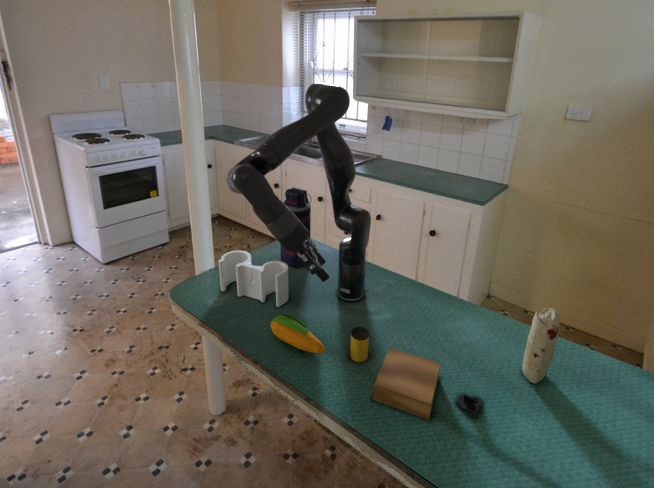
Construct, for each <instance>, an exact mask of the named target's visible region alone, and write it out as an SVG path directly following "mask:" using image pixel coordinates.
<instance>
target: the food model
mask: <svg viewBox="0 0 654 488" xmlns="http://www.w3.org/2000/svg"><path fill="white" fill-rule="evenodd" d="M560 325H561V316H560V313H559V312H557V310H555V309H554V308H552V307H545V308H543V309H542V310H541V311H540V312H539V313H538V312H537V311H536V312H535V313H534V315H533V318H532V322H531V326H530V328H529V329H530V330H529V333H528V337H527V340H526V341H527V342H526V345H525V349H524V355H523V360H522V365H521V369H522V370H521V371H522V374H523V376H524V378H526V379H527V380H528V381H529V382H530V383H531V384H538V383H540V382H541V381H542V380H543V379H544V378H545V376H546V375H547V373H548V370H549V368H550V366H551V364H552V362H553V358H554V355H555V350H556V345H557V341H558V338H559V332H560Z"/></svg>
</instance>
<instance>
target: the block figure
mask: <svg viewBox="0 0 654 488" xmlns="http://www.w3.org/2000/svg"><path fill="white" fill-rule="evenodd" d="M456 404H457V406H458V408H460V409H461V410H463V411H467V414H468V416H470V417H472V418H477V416H478V413H479V412H482V411H481V410H482V409H481V408H480V407H481V405H482V400H481V398H480V397H478V396H473V397H472V396H469V395H467V394H459V396H458V398H457V401H456Z"/></svg>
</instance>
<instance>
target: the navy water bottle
mask: <svg viewBox="0 0 654 488" xmlns="http://www.w3.org/2000/svg"><path fill="white" fill-rule="evenodd" d="M284 196H285V200H284V201H282V202H283V203H284V204H285V205H286V206H287V207H288V208H289V209H290V210H291V211H292V212H293V213H294V214H295V215H296V217H297V218H298V219H299V220H300V221H301V222H302V224H303V225H304V226H305V227H306V228H307V229H308V231H309V234H308V237H309V238H310V239H311V223H312V222H311V216H312V215H311V213H312V208H311V207H312V206H311V204H312V200H310V201H309V198H310V199H312V195H310V194H309V193H308V190H306V189H302V188H298V187H294V186H293V187H291V188H287V189H285V192H284ZM308 196H309V197H308ZM279 245H280V246H279V247H280V248H279V249H280V261H281V262H284V263H286V264H287V265H288V266H290V265H291V266H293V268H300V267H301V265H303V264H302V262H301V261H300V260H299V259H298V257H299V256H298V254H297V250H291V251H287V250H286V249H285V248H284V247H283V246H282V245H281V244H280V243H279Z"/></svg>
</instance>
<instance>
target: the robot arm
mask: <svg viewBox="0 0 654 488" xmlns="http://www.w3.org/2000/svg"><path fill="white" fill-rule="evenodd" d="M306 89H307V90H306V92H305V96H304V104H305V108H306V112H307V114H306V115H305V116H303V117H301V118H299V119H297V120H295V121H293V122H291V123H288V124H287V125H284V126H282V127H280V128H279V129H277V130H276V131H274V132H273V133H272V134H270V135H269V136H268V137H267V138H266V139H264V141H263V142H262V143H260V144H259V145H258V147H256V149H254V151H252V152H251V153H250V154H248V155H247V156H245V157H244V158H242V159H241V160H240V161H238V162H236V164H234V166H232V167H231V168H230V169H229V170H228V171H227V173H226V176H225V177H226V178H225V183H226V186H227V188H228V189H229V191H231V192H233V193H234V194H237V195H242V196H243V197H244V198H245V200H247V202H248V204H250V205H251V209H252V211H253V213H254V214H255V215H256V217H257V218H258V219H259V220H260V221H261V222H262V224H263V225H264V226H265V227H266V229H267V230H268V231H269V233H270V234H271V235H272V236H273V237H274V238H275V239H276V241H278V243H279V245H280V244H281V245H282V246H283V247H284V248H285V249H286V250H287V251H291V250H297V254H298V256H299V257H298V259H299V260H300V261H301V262H302V265H303V266H304V267H305V268H306V270H307V271H308V272H309V273H310V275H311V276H314V275H316V276H317V278H319V280H320V281H321V283H325V282H327V280H329V279H330V274H329V273H328V272H327V271H326V270H325V269H324V268H323V267H322V266H323V265H325V264H326V262H327V261H326V259H325V258H324V257H323V255H321V253H320V252H319V250H318V248H317V245H316V244H315V243H314V242H313V241H312V240H311V237H310V238H309V237H308V234H309V231H308V229H307V228H306V227H305V226H304V225H303V224H302V222H301V221H300V220H299V219H298V218H297V217H296V215H295V214H294V213H293V212H292V211H291V210H290V209H289V208H288V207H287V206H286V205H285V204H284V203H283V202H284V201H283V200H282V199H281V198H280V197H279V196H278V195H277V194H276V193H275V191H274V189H273V188H272V186H271V184H270V182H269V181H268V179H267V178H266V175H267V174H269V173H271V172H272V171H275V170H277V169H278V168H279V167H280V166H282V164H283V163H284V162H285V161H286V160H287V159H289V157H291V156H292V155H293V154H294V153H295V152H296V151H297V150H298V149H299V148H301V147H302V146H303V145H304V144H305V143H307V142H308V141H310V140H311V139H313V138H314V137H315V138H316V141H317V145H318V149H319V152H320V156H321V161H322V165H323V168H324V169H323V170H324V172H325V177H326V179H327V183H328V187H329V193H330V196H331V204H332V213H333V220H334V223H335V226H336V227H337V228H338V229H339V230H340V231H342V232H345V233H347V234H350V237H347V238H344V239H342V240H341V241H340V242H339V244H338V266H337V267H338V270H337V274H338V275H337V290H336V295H337V297H338V298H339V299H341V300H342V301H345V302H358V301H360V300H362V299H363V298H364V296H365V284H366V261H367V248H368V245H369V242H370V232H371V225H372V216H371V213H370V211H369V210H367V209H365V208H362V207H359V206H357V205H354V204H353V203H352V201H351V197H350V189H351V187H352V185H353V183H354V181H355V179H356V176H357V171H356V170H357V169H356V164H355V159H354V155H353V152H352V150H351V148H350V146H349V144H348V143H347V141H346V140H345V138H344V137H343V135H342V134H341V132H340V131H339V129H338V127H337V125H336V122H338V121H339V120H340V119H342V118H343V117H344V116H345V115H346V114H347V112H348V110H349V108H350V103H351V98H350V95H349V92H348V91H347V89H346V88H344V87H343V86H340V85H336V84H332V83H327V82H326V83H325V82H314V83H311V84H310V85H309V86H308V88H306Z"/></svg>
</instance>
